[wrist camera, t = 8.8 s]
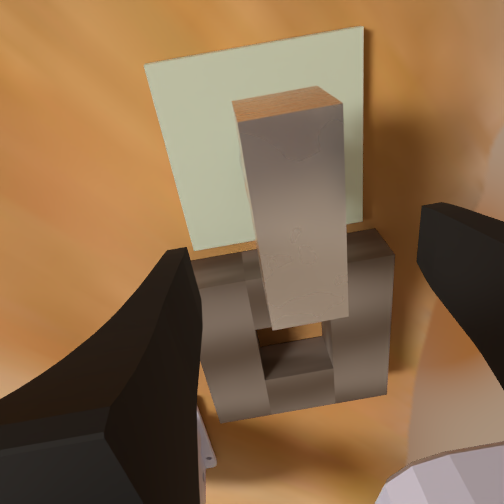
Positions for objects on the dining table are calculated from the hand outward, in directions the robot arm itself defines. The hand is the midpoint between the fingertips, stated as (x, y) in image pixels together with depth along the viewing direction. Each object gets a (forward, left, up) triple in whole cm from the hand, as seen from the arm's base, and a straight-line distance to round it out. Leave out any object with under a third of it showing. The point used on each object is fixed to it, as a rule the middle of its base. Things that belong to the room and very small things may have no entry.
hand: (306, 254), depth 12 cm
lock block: (-12, 0, -10) cm, 16 cm away
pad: (0, 0, -10) cm, 10 cm away
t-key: (0, 0, -10) cm, 10 cm away
